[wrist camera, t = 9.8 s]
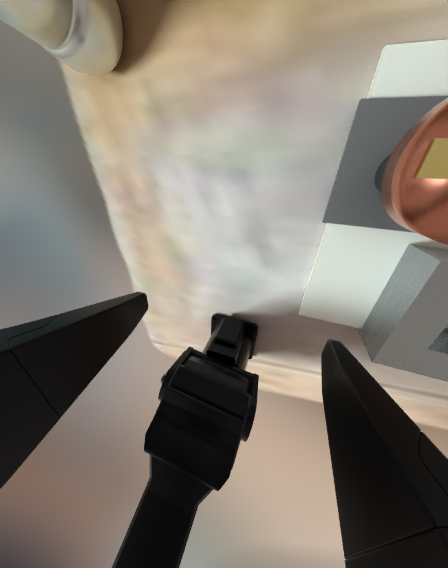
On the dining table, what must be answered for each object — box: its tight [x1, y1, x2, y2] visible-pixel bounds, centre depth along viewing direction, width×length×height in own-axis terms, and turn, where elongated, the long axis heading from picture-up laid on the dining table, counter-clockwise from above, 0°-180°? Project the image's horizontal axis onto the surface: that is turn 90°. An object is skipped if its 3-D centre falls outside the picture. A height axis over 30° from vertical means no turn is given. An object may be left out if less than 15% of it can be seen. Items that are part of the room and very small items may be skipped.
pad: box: [322, 96, 448, 233], centre depth 14 cm, size 8×8×1 cm
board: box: [298, 39, 448, 329], centre depth 15 cm, size 21×17×1 cm
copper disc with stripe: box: [375, 98, 448, 245], centre depth 10 cm, size 6×6×9 cm
